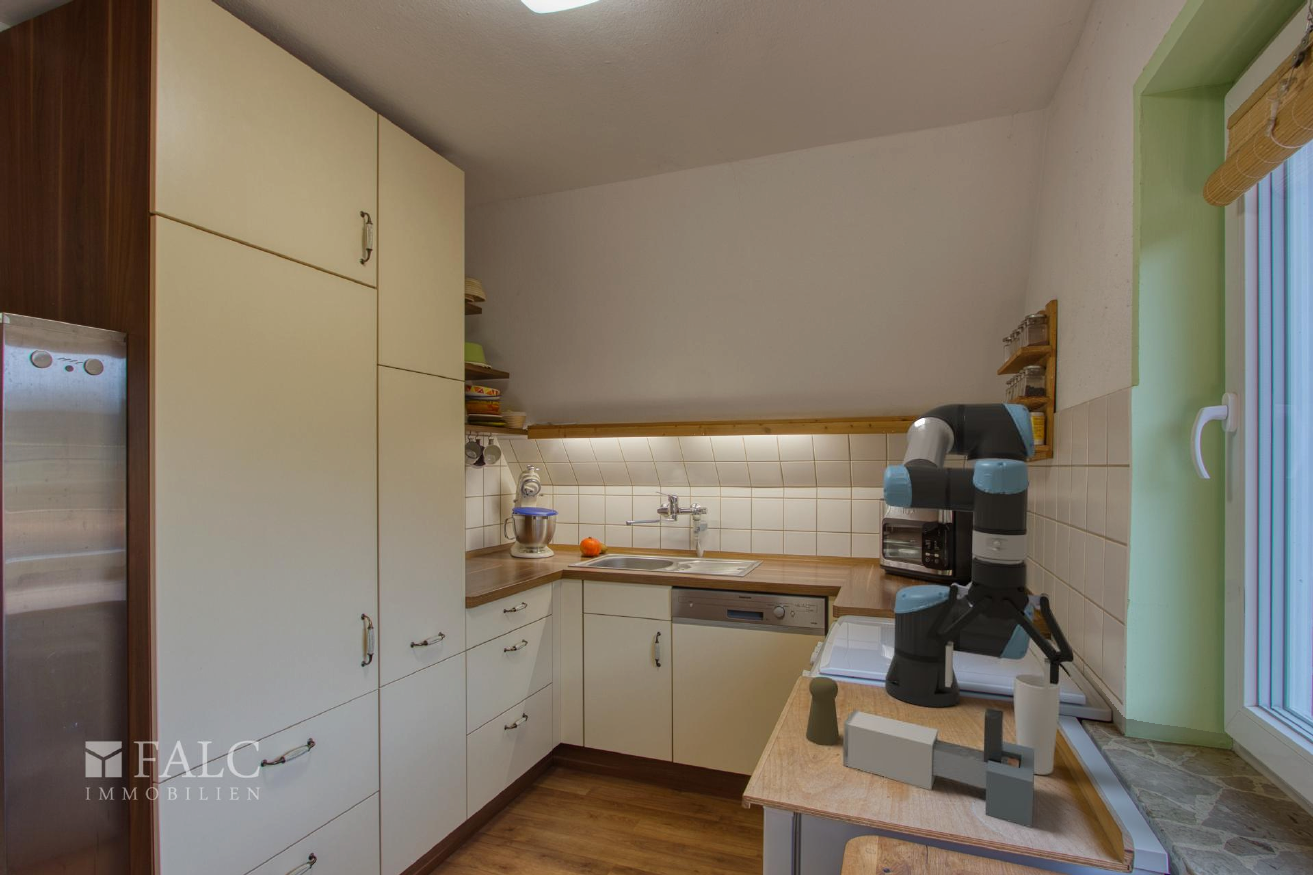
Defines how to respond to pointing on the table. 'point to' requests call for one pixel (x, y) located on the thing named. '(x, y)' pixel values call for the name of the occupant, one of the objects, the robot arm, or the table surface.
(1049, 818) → the table surface
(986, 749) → the sliding bolt
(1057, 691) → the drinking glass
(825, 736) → the olive knob-topped post
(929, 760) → the sleeve
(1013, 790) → the socket
